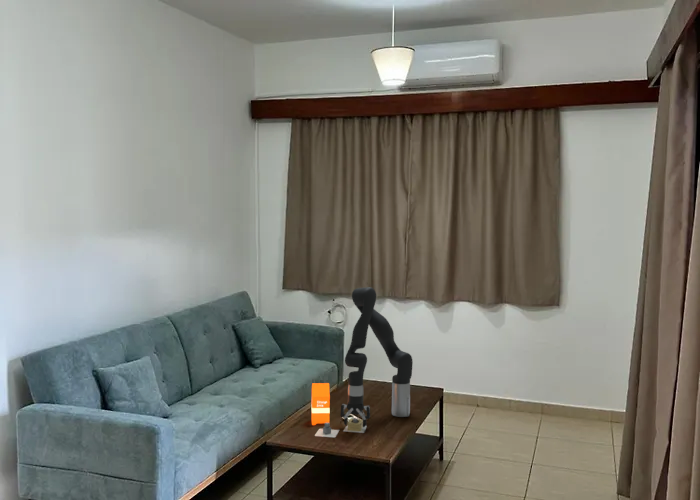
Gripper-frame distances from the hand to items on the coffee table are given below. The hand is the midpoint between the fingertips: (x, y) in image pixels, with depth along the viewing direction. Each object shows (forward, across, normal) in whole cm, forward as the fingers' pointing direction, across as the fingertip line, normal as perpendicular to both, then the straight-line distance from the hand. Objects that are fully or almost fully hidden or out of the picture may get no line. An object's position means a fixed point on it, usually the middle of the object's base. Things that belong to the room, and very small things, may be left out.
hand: (355, 426), depth 321 cm
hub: (+2, +12, +9) cm, 15 cm away
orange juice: (+2, +19, -7) cm, 20 cm away
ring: (+1, 0, 0) cm, 1 cm away
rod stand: (+2, 0, 0) cm, 2 cm away
